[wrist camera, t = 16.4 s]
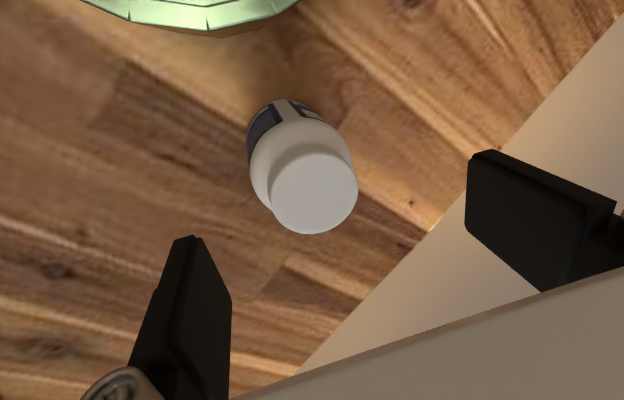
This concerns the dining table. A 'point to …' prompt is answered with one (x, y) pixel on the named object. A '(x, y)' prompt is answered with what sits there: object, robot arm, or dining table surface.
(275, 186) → the pill bottle
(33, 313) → the dining table surface
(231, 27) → the canister
